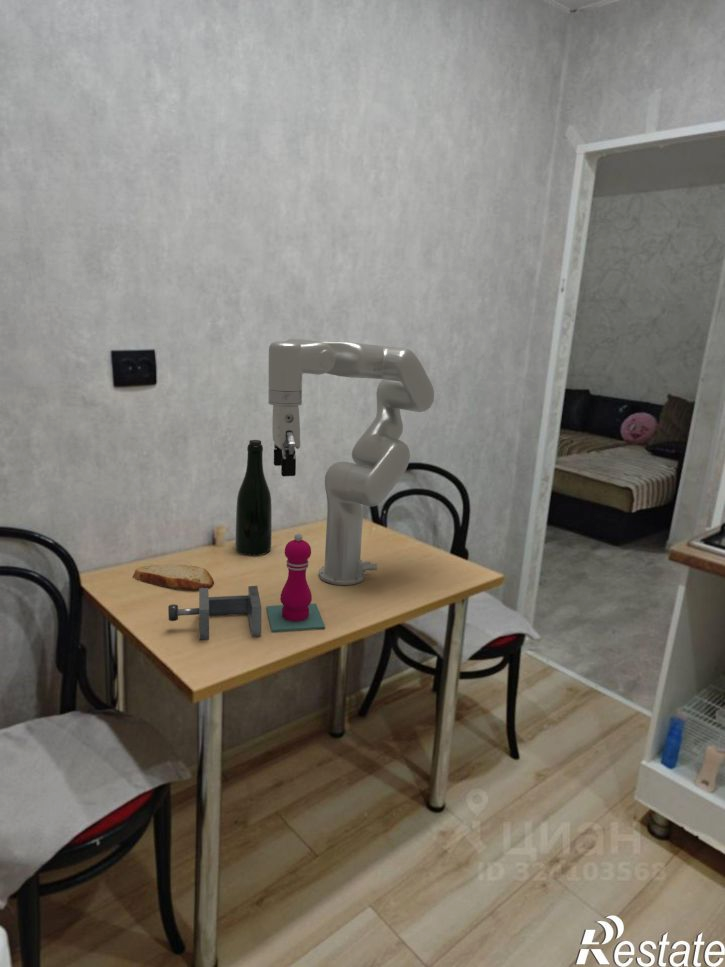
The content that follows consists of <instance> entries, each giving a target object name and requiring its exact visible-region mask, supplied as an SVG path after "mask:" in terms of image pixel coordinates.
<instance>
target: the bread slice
mask: <svg viewBox="0 0 725 967" xmlns="http://www.w3.org/2000/svg"><path fill="white" fill-rule="evenodd" d="M132 578H133V579H134V578H135V579H134V580H137V581H139V580H140V581H139V582H142V583H146V584H151V585H155V586H158V587H164V588H168V589H173V590H185V591H186V590H189V591H199V588H208V590H210V589H212V588H213V586H214V585H215V580H214V578H213V577H212V575H211V574H210V572H209V571H208V570H207V568H203V567H199V566H196V565H187V564H156V565H155V564H154V565H152V564H151V565H145V566H141V567H138V568H136V569H135V570H134V573H133V575H132Z"/></svg>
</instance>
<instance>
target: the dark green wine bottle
mask: <svg viewBox="0 0 725 967" xmlns="http://www.w3.org/2000/svg"><path fill="white" fill-rule="evenodd" d="M248 443H249V444H247V446H246V447H247V448H246V449H247V459H246V469H245V474H244V477H243V478H242V479H243V480H242V483H241V485H240V487H239V490H238V493H237V499H236V511H235V512H236V513H235V537H234V538H235V544H234V545H235V550H236V551H237V552H238V553H240V554H242V555H245V556H261V555H264V554H267V553H269V552H270V550H271V549H272V537H273V536H272V531H273V530H272V526H273V525H272V523H273V522H272V520H273V519H272V516H273V515H272V511H273V510H272V507H273V506H272V494H271V491H270V488H269V484H268V482H267V479H266V477H265V473H264V464H263V463H264V462H263V459H264V458H263V451H264V447H263V444H262V440H259V439H250V440H249V442H248Z"/></svg>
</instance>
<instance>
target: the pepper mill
mask: <svg viewBox="0 0 725 967" xmlns="http://www.w3.org/2000/svg"><path fill="white" fill-rule="evenodd" d="M311 555H312V548H311V545H310V544H309V543H308V542H307V541H306V540H304V539H303V535H302V534H301V533H296V534H295V535H294V539H292V540H289V542H287V543H286V545H285V547H284V556H285V557H286V559H287V560H286V568H287V569H288V571H287V572H288V574H287V579H286V582H285V584H284V586H283V588H282V590H281V593H280V603H281V605H284V606H283V608H282V616H283V618H285V619H286V620H289V621H302V620H305V619H307V618H308V617H309V607H308V606H309V605H310V604H312V601H313V600H312V599H313V596H312V591H311V588H310V585H309V584H308V581H307V575H306V574H307V569H308V568H309V558H310V557H311Z"/></svg>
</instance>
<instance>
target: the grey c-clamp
mask: <svg viewBox="0 0 725 967" xmlns="http://www.w3.org/2000/svg"><path fill="white" fill-rule="evenodd" d="M198 593H199V594H198V595H199V599H198V600H199V602H198V603H199V604H198V607H197V608H195V607H194V608H191V607H190V608H179V605H178V604H176V603H175V604H170V605H168V606H167V607H168V611H167V612H168V621H170V622H176V621H178V620H179V616H196V615H197V616H198V618H199V619H198V620H199V621H198V622H199V623H198V624H199V629H198V630H199V631H198V633H199V635H198V637H199V639H198V640H199V641H202V640H203V641H207V640H210V617H214V616H215V617H216V616H217V617H218V616H233V615H234V616H235V615H247V616H248V622H249V628H250V630H249V631H250V635H251V638H252V637H254V636H255V637H262V602H261V597H260V592H259V587H258V585H248V593H247V595H228V596H227V595H225V596H209V589H208V588H199V590H198Z"/></svg>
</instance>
